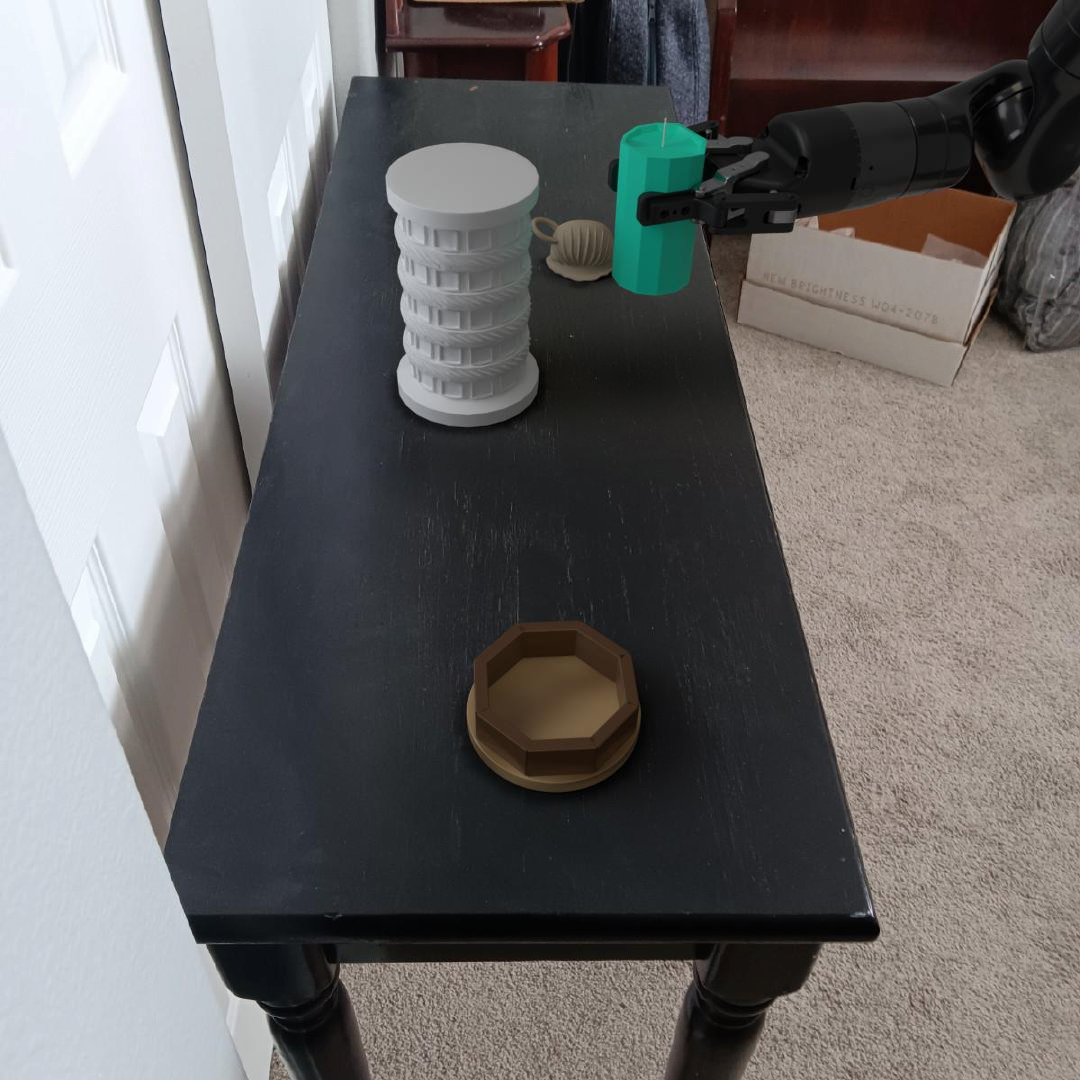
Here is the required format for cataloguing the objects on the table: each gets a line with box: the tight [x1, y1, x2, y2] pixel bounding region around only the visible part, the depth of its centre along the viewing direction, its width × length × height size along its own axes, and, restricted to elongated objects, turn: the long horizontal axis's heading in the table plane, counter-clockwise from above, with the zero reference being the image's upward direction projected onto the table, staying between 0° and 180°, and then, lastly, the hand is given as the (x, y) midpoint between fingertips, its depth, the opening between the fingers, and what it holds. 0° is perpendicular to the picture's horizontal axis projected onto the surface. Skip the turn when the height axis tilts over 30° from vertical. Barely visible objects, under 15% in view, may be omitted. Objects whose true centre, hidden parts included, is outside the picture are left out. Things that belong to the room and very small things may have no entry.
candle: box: [611, 117, 707, 297], centre depth 77 cm, size 6×6×12 cm
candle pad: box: [466, 620, 642, 793], centre depth 64 cm, size 10×10×4 cm
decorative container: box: [385, 142, 540, 428], centre depth 82 cm, size 12×12×18 cm
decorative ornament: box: [531, 216, 614, 283], centre depth 100 cm, size 4×8×5 cm, turn 88°
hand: (625, 193), depth 76 cm, fingers closed on candle, 4 cm apart
